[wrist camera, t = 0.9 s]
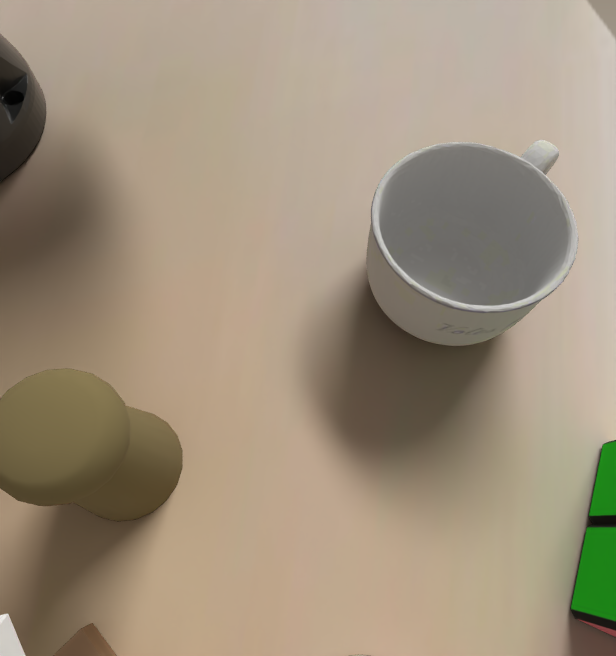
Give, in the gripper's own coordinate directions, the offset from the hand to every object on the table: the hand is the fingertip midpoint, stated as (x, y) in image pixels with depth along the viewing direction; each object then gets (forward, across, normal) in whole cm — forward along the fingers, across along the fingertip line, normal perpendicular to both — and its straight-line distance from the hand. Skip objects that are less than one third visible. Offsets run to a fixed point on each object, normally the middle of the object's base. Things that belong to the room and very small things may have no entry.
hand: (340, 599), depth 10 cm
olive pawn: (+18, -11, -4) cm, 21 cm away
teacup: (+24, +11, +2) cm, 27 cm away
